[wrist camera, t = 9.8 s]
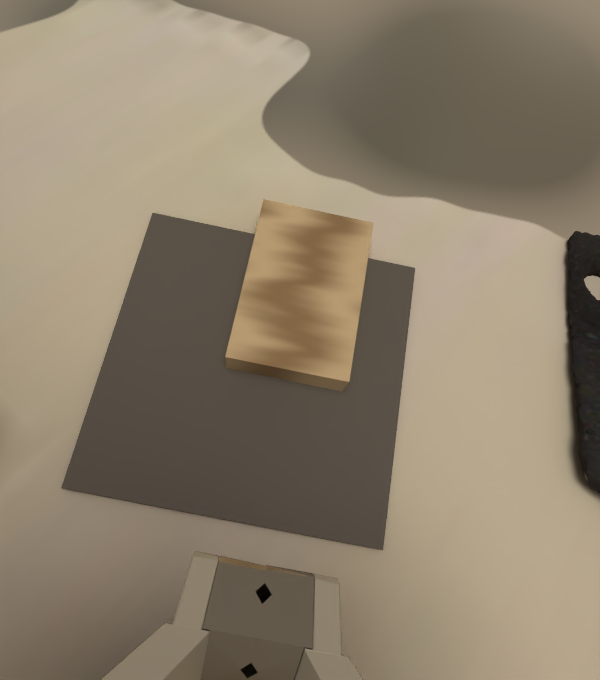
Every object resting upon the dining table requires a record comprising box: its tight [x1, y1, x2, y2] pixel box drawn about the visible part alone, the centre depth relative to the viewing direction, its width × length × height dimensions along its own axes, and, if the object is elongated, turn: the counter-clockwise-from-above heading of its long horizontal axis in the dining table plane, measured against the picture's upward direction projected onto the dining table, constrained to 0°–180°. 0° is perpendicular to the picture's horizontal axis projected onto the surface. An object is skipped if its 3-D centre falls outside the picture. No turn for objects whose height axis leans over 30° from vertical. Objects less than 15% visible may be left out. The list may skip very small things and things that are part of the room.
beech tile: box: [225, 200, 373, 391], centre depth 36 cm, size 8×2×12 cm
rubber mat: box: [62, 213, 415, 550], centre depth 35 cm, size 20×20×1 cm
